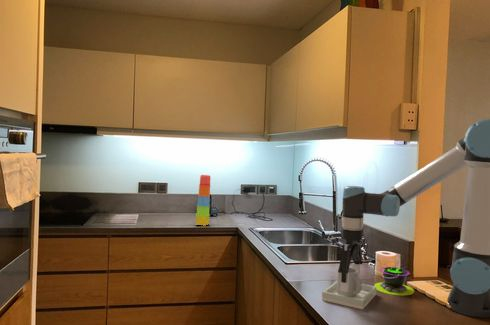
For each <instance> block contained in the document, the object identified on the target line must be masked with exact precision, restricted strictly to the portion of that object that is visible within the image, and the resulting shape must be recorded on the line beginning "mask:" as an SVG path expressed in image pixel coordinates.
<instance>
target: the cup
mask: <svg viewBox="0 0 490 325" xmlns="http://www.w3.org/2000/svg"><path fill="white" fill-rule="evenodd" d="M336 270H337V276H336V281H337V293H338V295H343V296H347V297H355V296H356V295H357V294H359V293H360V291H361V288H362V284H363V283H362V280H361V277H360V278H359V277H358V276H357V274H358V271H357V270H356V269H354V268H352V267H349V270H348V273H349V284H348V292H345V291H340V279H341V273H340V272H338V270H339V267H337V269H336Z"/></svg>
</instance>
